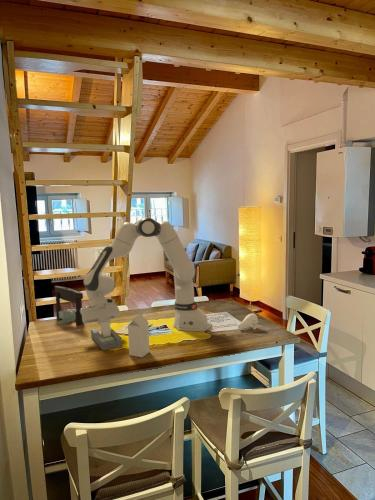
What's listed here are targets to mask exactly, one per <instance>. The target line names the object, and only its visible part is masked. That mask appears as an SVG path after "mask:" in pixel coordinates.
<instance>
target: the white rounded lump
mask: <svg viewBox="0 0 375 500" xmlns="http://www.w3.org/2000/svg"><path fill="white" fill-rule="evenodd" d="M258 324H259V319H258V316H257V314H255V313H251V312H250V313H249V314H247V315H246V316H245V317H244V319H243V320H242V321H241V322H239V323H238V324H237V328H238V329H239V331H245V328H252V329H253V330H254V331H255V330H256V329H257V326H258Z"/></svg>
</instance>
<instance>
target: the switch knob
mask: <svg viewBox="0 0 375 500" xmlns="http://www.w3.org/2000/svg"><path fill="white" fill-rule="evenodd" d="M99 320H100V323H101V325H100V330H101V335H102V336H103V337H107V336H111V330H110V327H111V321H112V319H110V318H109V317H103V318H99Z"/></svg>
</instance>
